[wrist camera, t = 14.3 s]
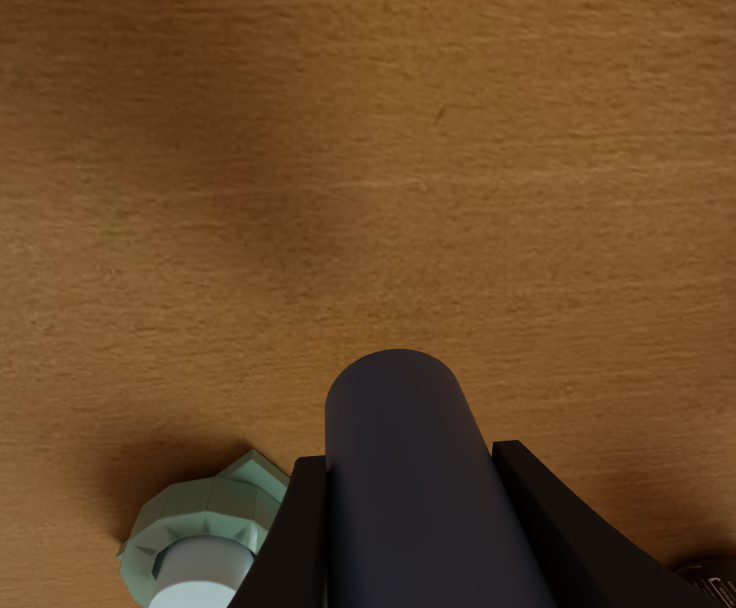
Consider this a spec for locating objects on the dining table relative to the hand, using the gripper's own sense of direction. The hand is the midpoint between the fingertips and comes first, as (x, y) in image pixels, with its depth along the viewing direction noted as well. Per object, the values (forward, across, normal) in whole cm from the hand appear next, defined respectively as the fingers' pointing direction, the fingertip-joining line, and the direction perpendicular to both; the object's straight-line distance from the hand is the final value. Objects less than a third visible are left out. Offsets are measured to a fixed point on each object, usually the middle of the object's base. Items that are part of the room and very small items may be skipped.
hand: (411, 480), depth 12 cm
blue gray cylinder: (+3, 0, 0) cm, 3 cm away
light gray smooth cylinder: (+5, +7, +9) cm, 13 cm away
